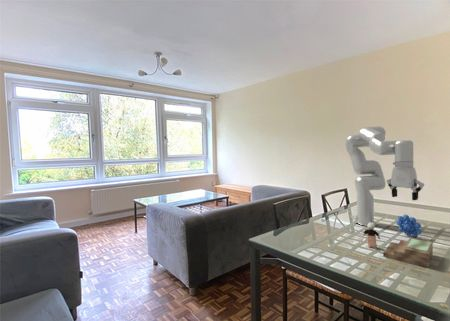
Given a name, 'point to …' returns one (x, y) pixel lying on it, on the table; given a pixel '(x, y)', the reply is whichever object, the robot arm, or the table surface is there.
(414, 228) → the grapes
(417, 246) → the step riser
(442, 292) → the table surface
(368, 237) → the grandmother figurine
